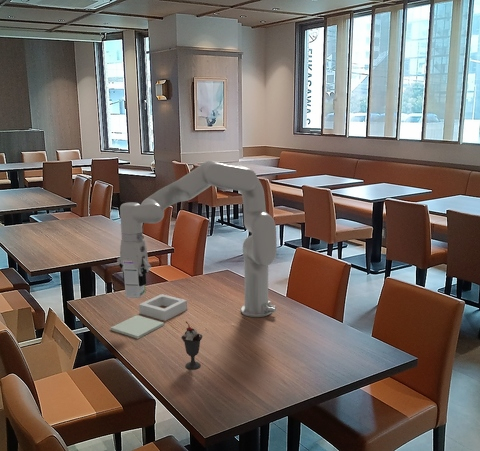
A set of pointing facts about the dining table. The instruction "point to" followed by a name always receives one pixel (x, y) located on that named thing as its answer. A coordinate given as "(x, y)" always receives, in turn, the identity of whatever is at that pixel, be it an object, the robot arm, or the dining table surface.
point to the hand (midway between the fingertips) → (134, 282)
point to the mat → (137, 326)
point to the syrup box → (132, 280)
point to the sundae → (192, 346)
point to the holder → (155, 311)
